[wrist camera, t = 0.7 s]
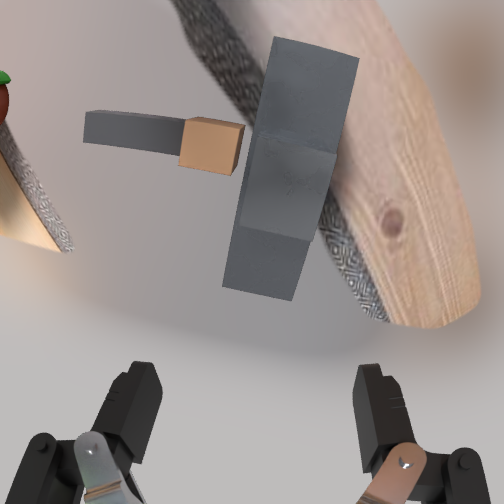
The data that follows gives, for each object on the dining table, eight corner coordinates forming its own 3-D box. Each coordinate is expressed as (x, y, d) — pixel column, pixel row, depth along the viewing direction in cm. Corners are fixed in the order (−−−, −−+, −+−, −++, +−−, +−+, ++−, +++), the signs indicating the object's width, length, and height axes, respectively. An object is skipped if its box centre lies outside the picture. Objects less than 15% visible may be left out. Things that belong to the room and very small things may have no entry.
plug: (96, 142, 33) (72, 150, 29) (99, 105, 31) (76, 109, 27) (237, 165, 34) (230, 175, 29) (245, 125, 32) (239, 129, 27)
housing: (237, 234, 37) (215, 307, 25) (275, 56, 28) (273, 27, 16) (288, 245, 37) (292, 323, 25) (333, 71, 28) (371, 53, 16)
